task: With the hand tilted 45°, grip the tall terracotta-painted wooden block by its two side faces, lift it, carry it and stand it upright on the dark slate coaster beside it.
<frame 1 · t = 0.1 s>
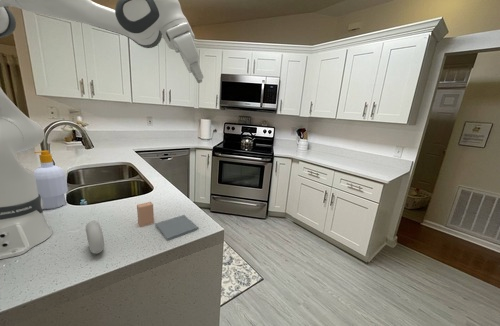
hand: (200, 81, 69), 54 cm above the counter, tool tilted 30°, fingers open, 8 cm apart
coaster: (176, 227, 80), on the counter
soap bottle: (54, 205, 90), on the counter
donut: (96, 251, 65), on the counter
block: (146, 223, 82), on the counter
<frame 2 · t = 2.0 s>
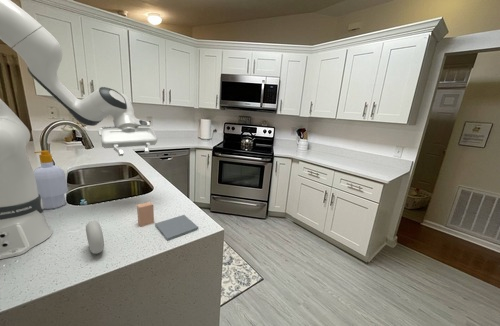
hand: (134, 154, 84), 26 cm above the counter, tool tilted 45°, fingers open, 8 cm apart
nothing on the counter moved.
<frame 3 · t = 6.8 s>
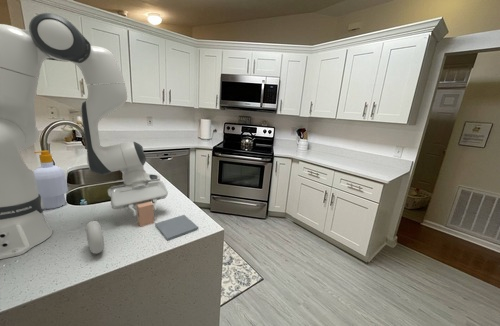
hand: (145, 213, 81), 4 cm above the counter, tool tilted 45°, fingers closed on block, 5 cm apart
block: (146, 223, 82), on the counter, touching gripper
everything else where it was.
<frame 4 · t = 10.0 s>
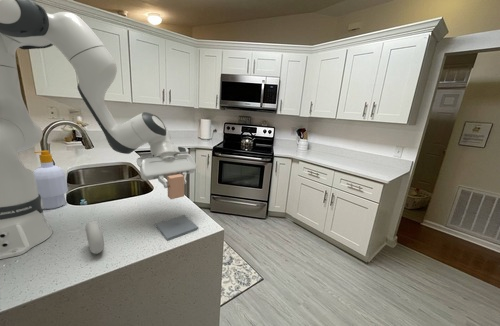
hand: (176, 185, 76), 17 cm above the counter, tool tilted 45°, fingers closed on block, 5 cm apart
block: (176, 196, 77), point 13 cm above the counter, touching gripper
everything else where it was.
when the fingers open (7 cm above the counter, at t = 13.2 s): block drops 1 cm, resting on coaster.
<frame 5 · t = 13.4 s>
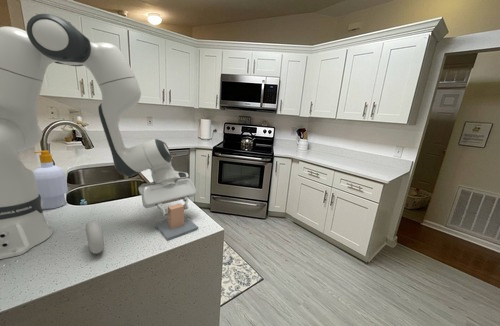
hand: (176, 211, 79), 7 cm above the counter, tool tilted 45°, fingers open, 7 cm apart
block: (176, 225, 80), point 1 cm above the counter, touching coaster
everything else where it was.
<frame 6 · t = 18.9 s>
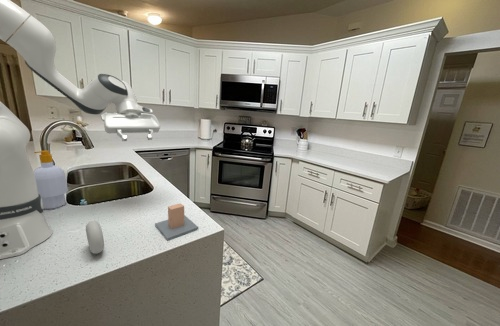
hand: (138, 139, 84), 31 cm above the counter, tool tilted 45°, fingers open, 8 cm apart
nothing on the counter moved.
at the end: block inside the target area on the coaster (0.1 cm from its centre), point 1.0 cm above the coaster's base; block tilted 0°; the gripper is holding nothing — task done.
